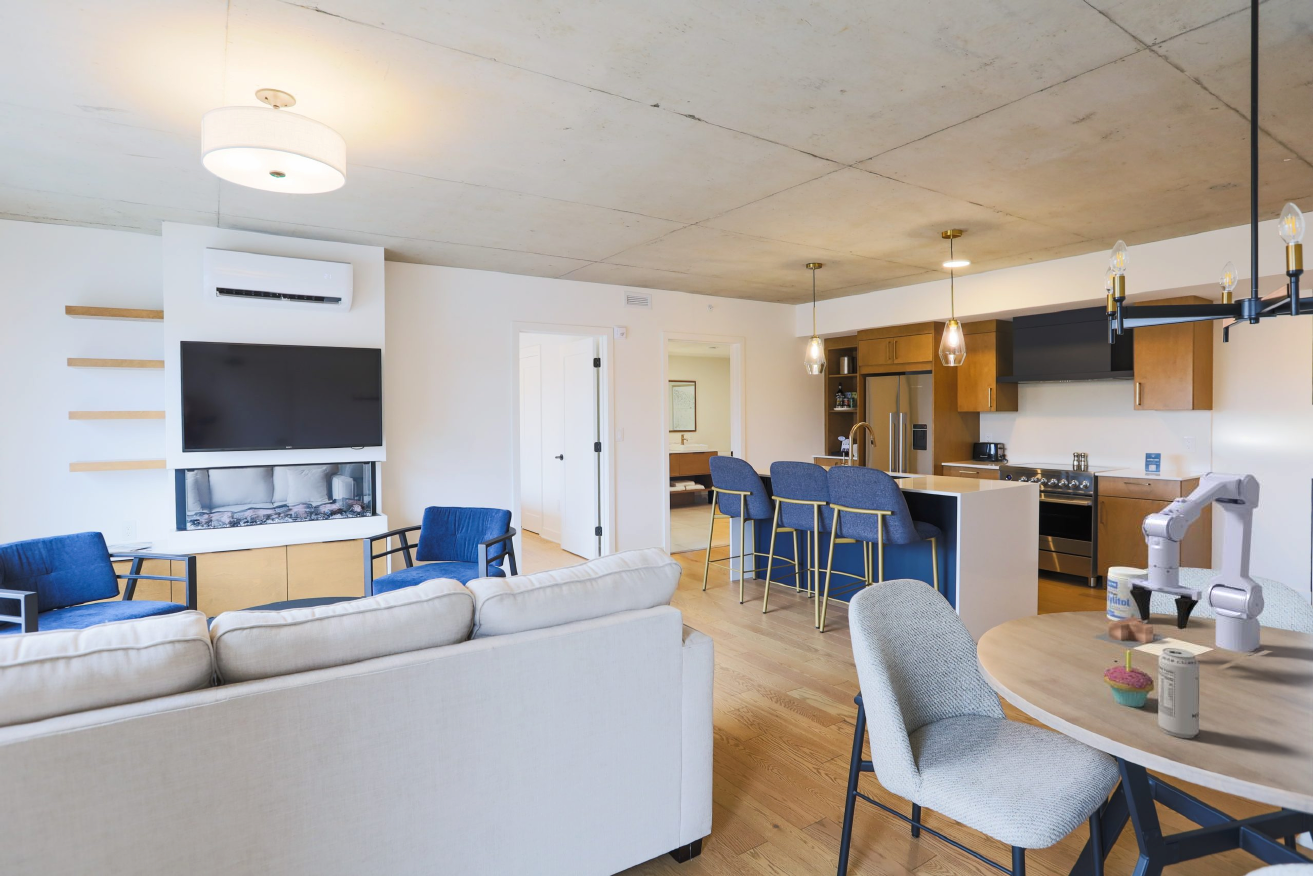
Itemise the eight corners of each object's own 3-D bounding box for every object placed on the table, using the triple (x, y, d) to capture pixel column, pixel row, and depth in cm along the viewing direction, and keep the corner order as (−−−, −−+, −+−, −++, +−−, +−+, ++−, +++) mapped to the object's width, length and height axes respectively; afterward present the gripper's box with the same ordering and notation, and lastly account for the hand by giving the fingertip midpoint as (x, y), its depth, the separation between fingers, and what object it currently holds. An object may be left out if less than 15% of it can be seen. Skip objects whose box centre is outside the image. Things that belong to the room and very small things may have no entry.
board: (1127, 630, 186) (1127, 627, 186) (1214, 652, 168) (1214, 649, 168) (1091, 639, 179) (1091, 636, 179) (1178, 664, 161) (1178, 660, 161)
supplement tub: (1101, 621, 195) (1101, 569, 194) (1114, 614, 201) (1114, 564, 200) (1141, 629, 187) (1141, 575, 187) (1153, 622, 193) (1153, 570, 192)
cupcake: (1155, 714, 135) (1156, 654, 135) (1104, 705, 140) (1104, 647, 139) (1152, 698, 142) (1152, 641, 142) (1103, 690, 147) (1103, 635, 146)
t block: (1108, 637, 178) (1108, 622, 178) (1131, 631, 183) (1131, 616, 182) (1137, 645, 172) (1137, 629, 172) (1160, 639, 176) (1160, 623, 176)
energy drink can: (1203, 742, 124) (1204, 660, 123) (1163, 736, 126) (1163, 655, 126) (1193, 728, 129) (1193, 649, 129) (1154, 722, 132) (1154, 645, 131)
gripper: (1120, 562, 164) (1120, 618, 164) (1190, 574, 151) (1189, 635, 151) (1137, 558, 167) (1137, 614, 168) (1206, 570, 154) (1206, 630, 155)
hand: (1163, 623), depth 160 cm, fingers open, 7 cm apart
